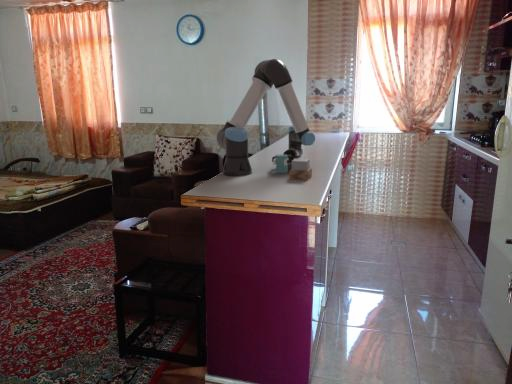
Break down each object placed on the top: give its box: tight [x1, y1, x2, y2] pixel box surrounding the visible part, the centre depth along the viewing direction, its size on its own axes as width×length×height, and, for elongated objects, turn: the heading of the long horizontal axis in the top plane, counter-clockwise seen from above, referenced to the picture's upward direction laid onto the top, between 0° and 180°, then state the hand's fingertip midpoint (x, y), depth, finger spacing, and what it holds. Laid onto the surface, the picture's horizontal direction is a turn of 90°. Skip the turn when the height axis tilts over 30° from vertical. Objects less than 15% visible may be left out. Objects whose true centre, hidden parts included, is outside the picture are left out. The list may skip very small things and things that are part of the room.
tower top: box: [291, 158, 310, 171], centre depth 194 cm, size 8×8×4 cm
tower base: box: [289, 167, 313, 181], centre depth 195 cm, size 9×9×4 cm
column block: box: [275, 154, 289, 174], centre depth 208 cm, size 5×5×9 cm
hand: (279, 162), depth 203 cm, fingers closed on column block, 5 cm apart
